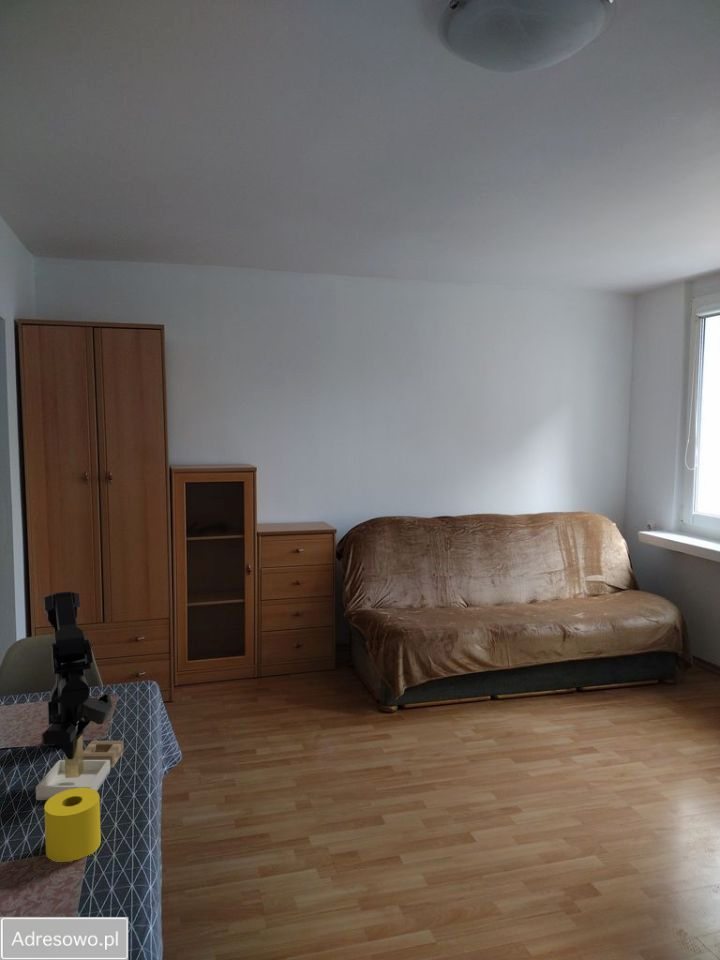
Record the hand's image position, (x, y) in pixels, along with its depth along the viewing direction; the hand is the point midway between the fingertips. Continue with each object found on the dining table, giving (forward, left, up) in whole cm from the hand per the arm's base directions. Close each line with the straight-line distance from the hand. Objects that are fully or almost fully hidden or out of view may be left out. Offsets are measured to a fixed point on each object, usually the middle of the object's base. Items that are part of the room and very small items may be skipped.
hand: (73, 755), depth 157 cm
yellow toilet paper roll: (+23, +9, -7) cm, 26 cm away
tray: (0, 0, -7) cm, 7 cm away
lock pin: (0, 0, -4) cm, 5 cm away
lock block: (-12, +2, -7) cm, 14 cm away
